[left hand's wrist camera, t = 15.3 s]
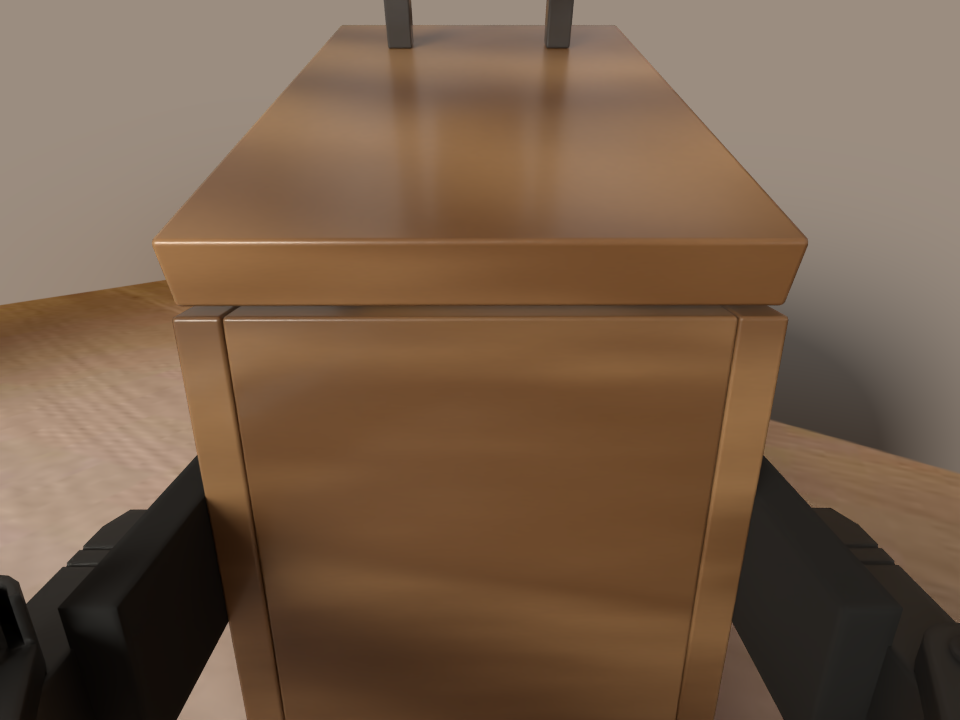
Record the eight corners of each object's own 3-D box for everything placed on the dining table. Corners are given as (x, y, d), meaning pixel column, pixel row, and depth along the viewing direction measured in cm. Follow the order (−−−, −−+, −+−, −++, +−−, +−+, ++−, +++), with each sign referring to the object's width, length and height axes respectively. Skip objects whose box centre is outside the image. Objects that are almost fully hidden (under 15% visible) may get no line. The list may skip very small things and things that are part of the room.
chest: (373, 456, 26) (356, 214, 22) (584, 455, 26) (600, 213, 22) (259, 796, 12) (169, 317, 9) (701, 794, 12) (791, 316, 9)
